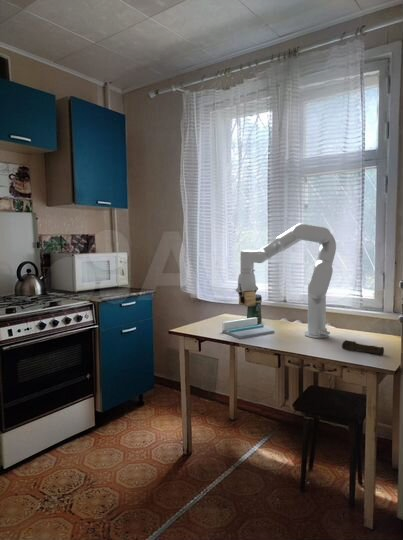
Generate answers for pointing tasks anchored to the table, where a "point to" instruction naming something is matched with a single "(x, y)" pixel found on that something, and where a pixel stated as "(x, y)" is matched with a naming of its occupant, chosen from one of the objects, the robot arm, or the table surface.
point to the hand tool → (362, 347)
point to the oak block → (249, 298)
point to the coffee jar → (255, 309)
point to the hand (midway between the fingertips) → (247, 302)
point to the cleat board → (244, 328)
